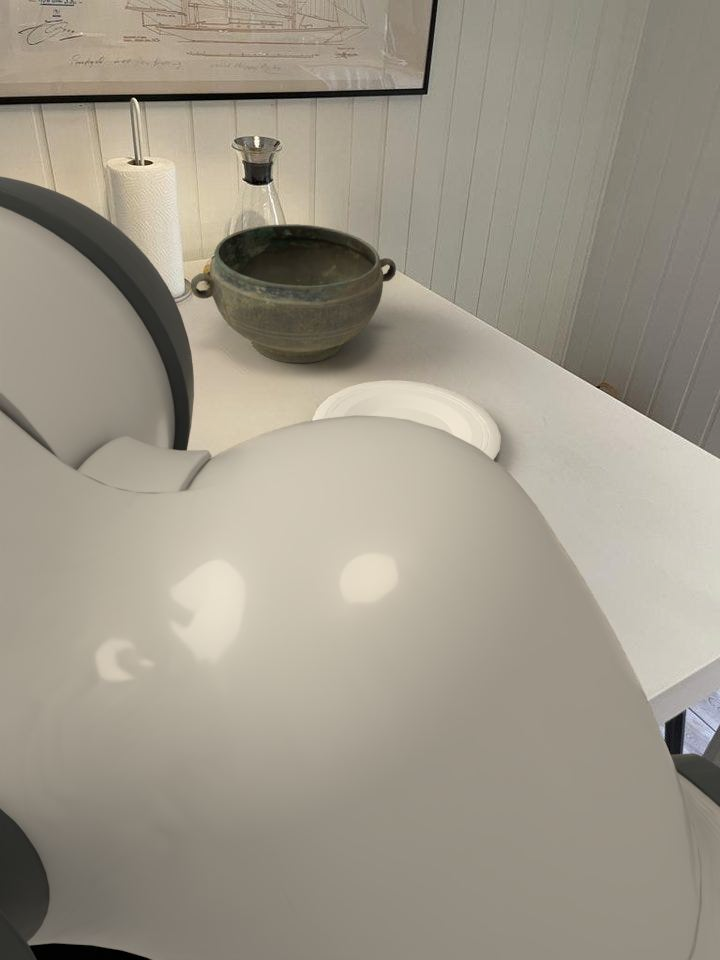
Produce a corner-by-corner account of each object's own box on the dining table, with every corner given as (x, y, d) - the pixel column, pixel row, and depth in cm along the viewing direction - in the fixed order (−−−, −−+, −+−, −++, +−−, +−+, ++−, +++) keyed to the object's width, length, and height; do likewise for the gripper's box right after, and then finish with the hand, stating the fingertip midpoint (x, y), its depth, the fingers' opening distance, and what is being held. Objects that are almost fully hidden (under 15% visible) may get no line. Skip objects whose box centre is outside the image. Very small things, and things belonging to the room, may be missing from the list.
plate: (527, 488, 93) (530, 476, 92) (328, 504, 88) (329, 491, 87) (465, 386, 113) (467, 375, 111) (299, 394, 108) (299, 383, 106)
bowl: (213, 396, 106) (207, 295, 97) (180, 317, 125) (173, 227, 116) (420, 369, 116) (432, 276, 107) (361, 300, 135) (367, 216, 126)
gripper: (683, 909, 45) (530, 730, 54) (393, 1129, 36) (269, 868, 45) (651, 953, 48) (513, 779, 58) (382, 1162, 39) (269, 916, 49)
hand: (404, 819), depth 51 cm, fingers open, 8 cm apart
